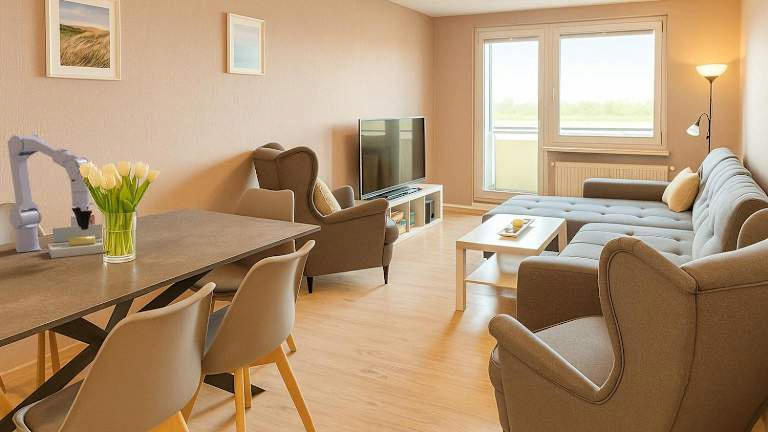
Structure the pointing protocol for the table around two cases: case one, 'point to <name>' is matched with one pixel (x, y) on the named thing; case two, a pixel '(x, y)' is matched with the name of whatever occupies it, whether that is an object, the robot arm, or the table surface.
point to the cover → (74, 233)
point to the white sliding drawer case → (74, 249)
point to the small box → (74, 223)
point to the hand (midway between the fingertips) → (83, 228)
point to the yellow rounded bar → (81, 240)
